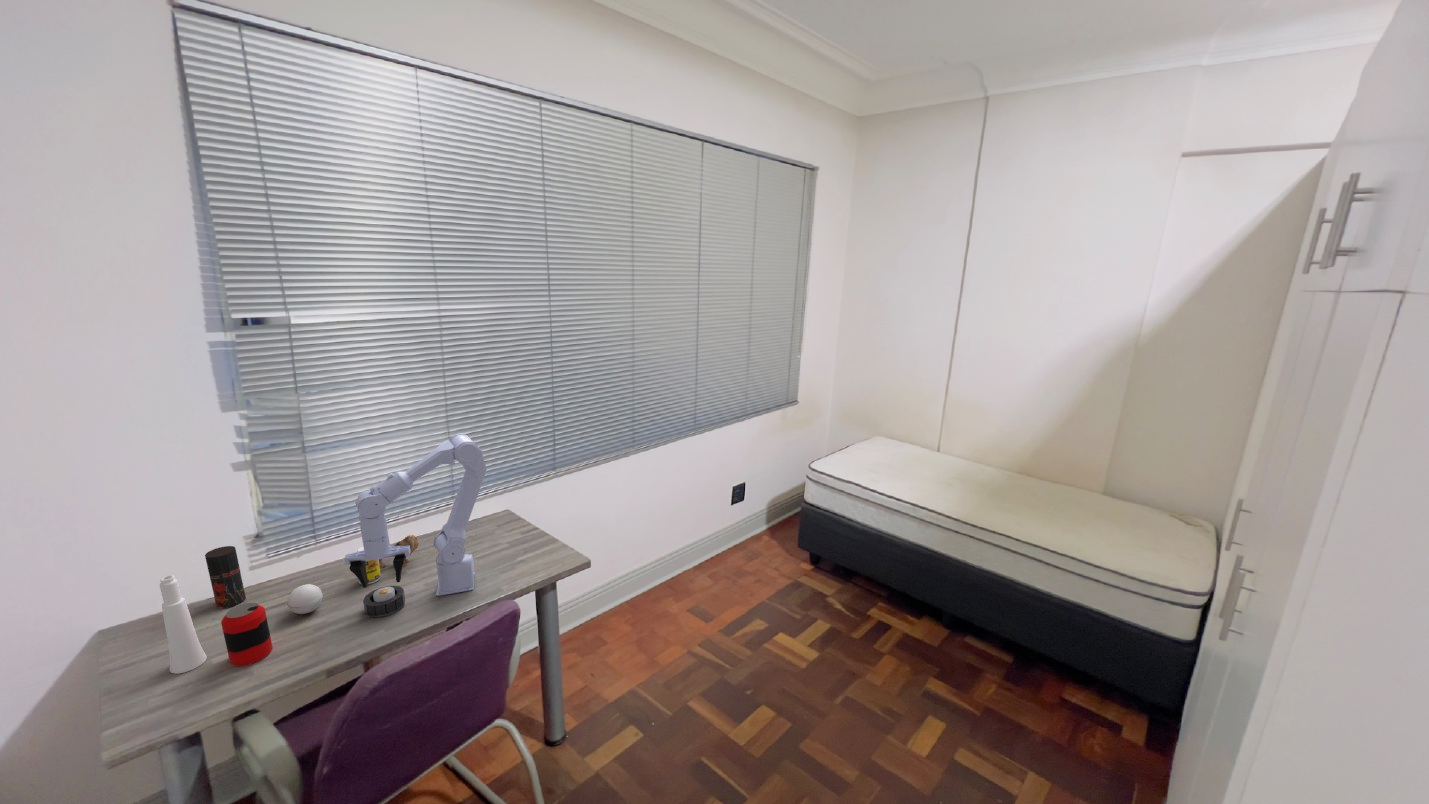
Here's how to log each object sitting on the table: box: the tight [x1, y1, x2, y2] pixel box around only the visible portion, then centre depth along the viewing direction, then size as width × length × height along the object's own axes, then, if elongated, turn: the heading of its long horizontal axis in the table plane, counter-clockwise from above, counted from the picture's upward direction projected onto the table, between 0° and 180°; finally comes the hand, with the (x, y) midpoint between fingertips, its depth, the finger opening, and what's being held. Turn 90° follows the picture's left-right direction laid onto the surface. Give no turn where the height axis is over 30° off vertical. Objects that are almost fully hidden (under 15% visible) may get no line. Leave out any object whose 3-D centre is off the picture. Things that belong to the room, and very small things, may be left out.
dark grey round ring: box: [362, 585, 406, 619], centre depth 142 cm, size 9×9×4 cm
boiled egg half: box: [373, 586, 395, 603], centre depth 142 cm, size 5×5×4 cm
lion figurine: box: [379, 534, 420, 568], centre depth 162 cm, size 15×5×9 cm, turn 103°
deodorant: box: [204, 545, 247, 610], centre depth 142 cm, size 6×6×15 cm
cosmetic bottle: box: [159, 574, 208, 675], centre depth 118 cm, size 6×6×22 cm
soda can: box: [220, 602, 273, 667], centre depth 123 cm, size 8×8×12 cm
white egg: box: [280, 583, 324, 615], centre depth 138 cm, size 10×7×7 cm
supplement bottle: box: [356, 545, 382, 585], centre depth 153 cm, size 6×6×10 cm
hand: (382, 583), depth 141 cm, fingers open, 7 cm apart
